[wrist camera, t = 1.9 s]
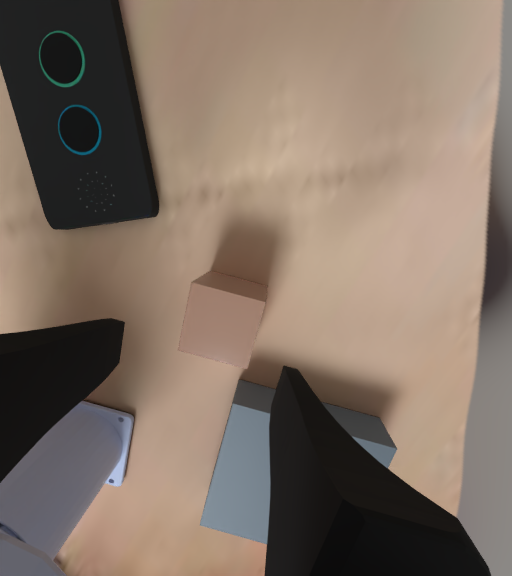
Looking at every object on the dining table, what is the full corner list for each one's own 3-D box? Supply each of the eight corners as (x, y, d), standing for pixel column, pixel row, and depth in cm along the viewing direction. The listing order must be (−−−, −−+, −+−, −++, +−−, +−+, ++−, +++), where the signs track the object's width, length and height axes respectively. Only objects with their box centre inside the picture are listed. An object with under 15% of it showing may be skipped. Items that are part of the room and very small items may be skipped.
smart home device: (45, 231, 18) (-66, -141, 14) (65, 231, 20) (-29, -100, 15) (155, 214, 17) (73, -186, 13) (166, 216, 19) (96, -138, 15)
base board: (209, 488, 24) (199, 525, 21) (238, 379, 21) (232, 403, 18) (332, 523, 23) (341, 565, 20) (379, 417, 21) (397, 448, 18)
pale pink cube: (198, 324, 20) (177, 350, 16) (210, 270, 19) (191, 282, 15) (253, 339, 20) (247, 369, 16) (267, 285, 19) (265, 302, 15)
